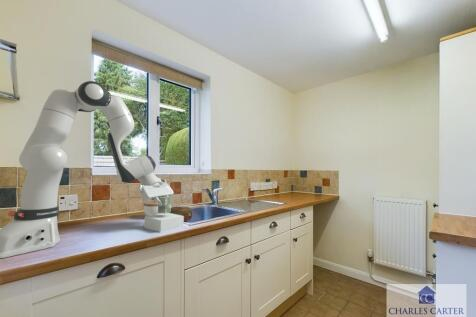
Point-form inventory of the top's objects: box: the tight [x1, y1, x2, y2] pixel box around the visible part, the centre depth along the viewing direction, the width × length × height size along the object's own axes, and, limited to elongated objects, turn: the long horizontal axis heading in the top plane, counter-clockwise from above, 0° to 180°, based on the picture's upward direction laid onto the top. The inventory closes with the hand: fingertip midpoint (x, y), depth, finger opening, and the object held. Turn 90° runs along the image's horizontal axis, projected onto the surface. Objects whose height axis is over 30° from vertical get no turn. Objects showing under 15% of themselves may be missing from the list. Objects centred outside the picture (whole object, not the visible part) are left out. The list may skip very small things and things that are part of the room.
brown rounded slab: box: [170, 205, 194, 223], centre depth 134 cm, size 15×3×8 cm, turn 76°
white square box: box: [143, 213, 185, 233], centre depth 118 cm, size 14×14×6 cm
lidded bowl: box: [143, 200, 162, 216], centre depth 141 cm, size 13×13×11 cm
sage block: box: [158, 196, 172, 214], centre depth 119 cm, size 5×5×8 cm
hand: (165, 204), depth 119 cm, fingers closed on sage block, 4 cm apart
